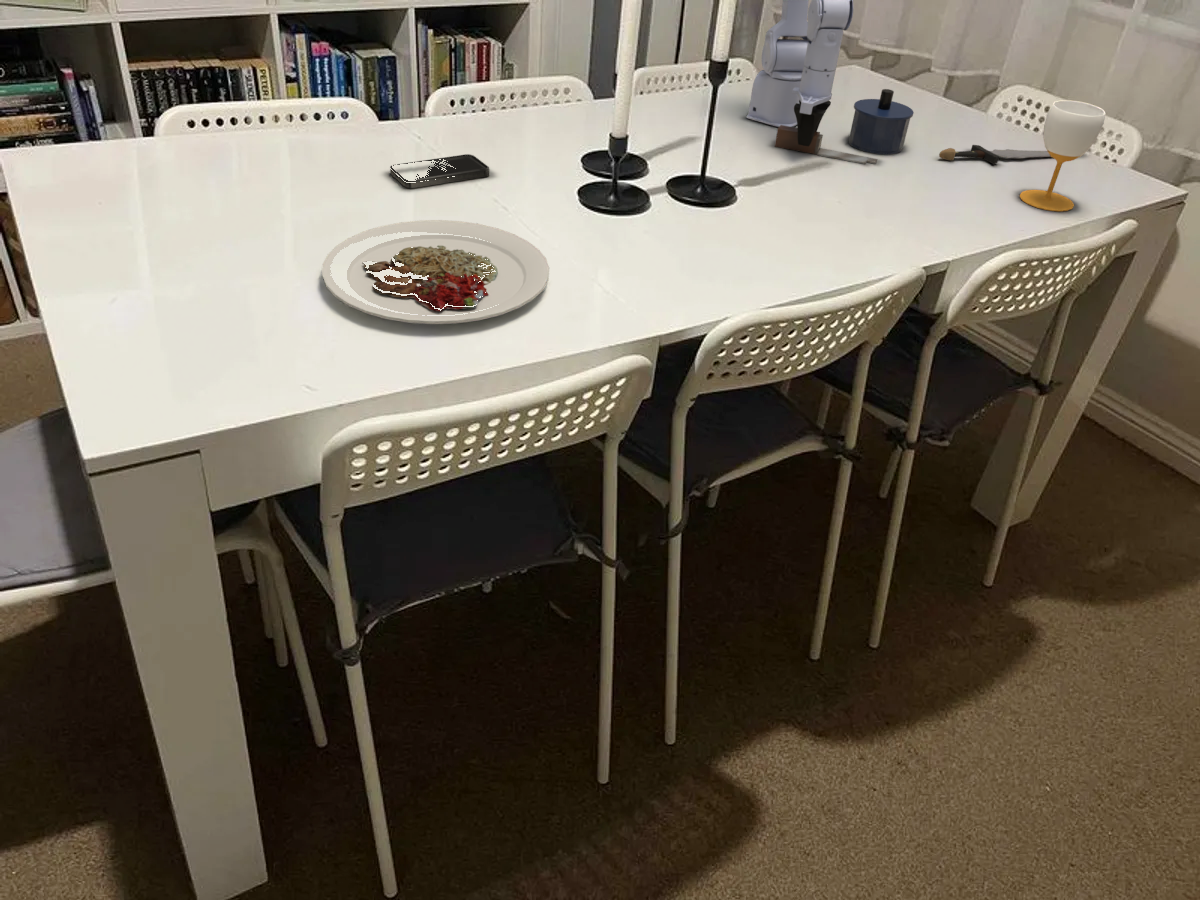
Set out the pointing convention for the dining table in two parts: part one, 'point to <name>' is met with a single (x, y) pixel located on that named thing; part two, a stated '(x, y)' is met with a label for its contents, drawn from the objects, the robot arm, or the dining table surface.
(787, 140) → the knife
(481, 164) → the phone
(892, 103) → the pot lid
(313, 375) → the dining table surface
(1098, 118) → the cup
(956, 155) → the dagger
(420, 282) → the plated food
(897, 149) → the pot
